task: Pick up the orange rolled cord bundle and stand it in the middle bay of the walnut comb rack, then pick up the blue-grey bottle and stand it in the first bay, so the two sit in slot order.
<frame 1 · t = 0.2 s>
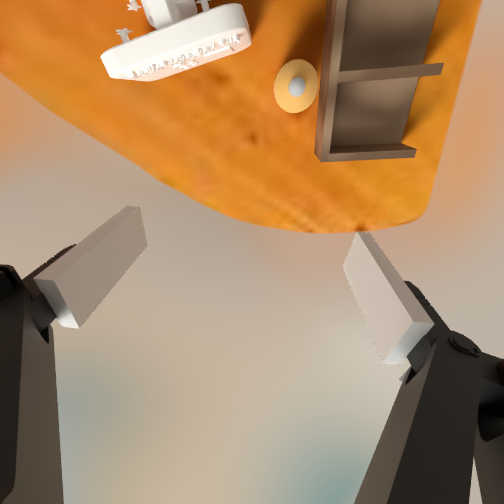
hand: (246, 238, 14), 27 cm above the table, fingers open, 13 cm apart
orange cord bundle: (290, 88, 32), on the table
cable organizer: (185, 18, 29), on the table
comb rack: (374, 31, 28), on the table
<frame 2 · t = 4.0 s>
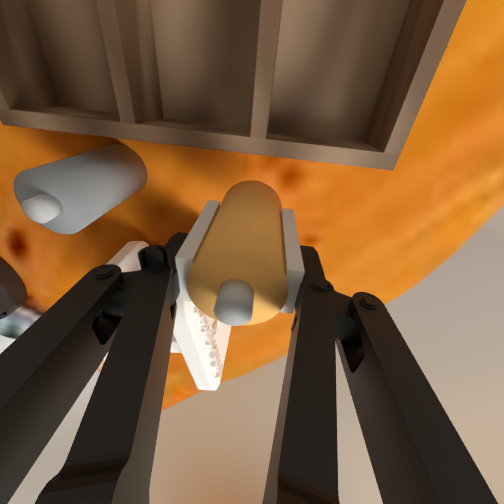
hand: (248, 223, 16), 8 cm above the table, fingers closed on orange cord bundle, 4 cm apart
orange cord bundle: (251, 210, 18), point 6 cm above the table, touching gripper
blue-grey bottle: (124, 169, 23), on the table
cable organizer: (192, 274, 30), on the table
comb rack: (212, 44, 17), on the table
when the fingers open (2 cm above the table, at t = 7.8 s): orange cord bundle stays where it is, resting on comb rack.
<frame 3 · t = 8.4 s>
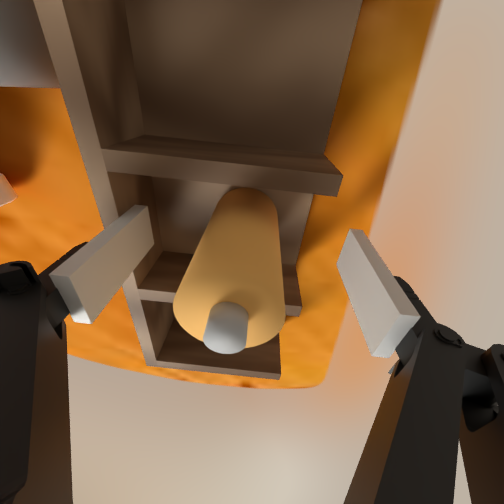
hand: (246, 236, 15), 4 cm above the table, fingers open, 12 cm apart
orange cord bundle: (246, 218, 17), point 1 cm above the table, touching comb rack
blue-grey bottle: (51, 37, 13), on the table
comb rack: (226, 208, 18), on the table
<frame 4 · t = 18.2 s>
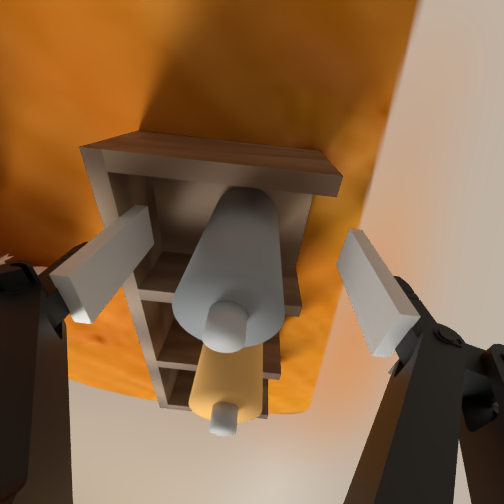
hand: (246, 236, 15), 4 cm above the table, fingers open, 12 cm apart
orange cord bundle: (239, 301, 22), point 1 cm above the table, touching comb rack
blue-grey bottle: (246, 217, 17), point 1 cm above the table, touching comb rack
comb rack: (224, 289, 23), on the table
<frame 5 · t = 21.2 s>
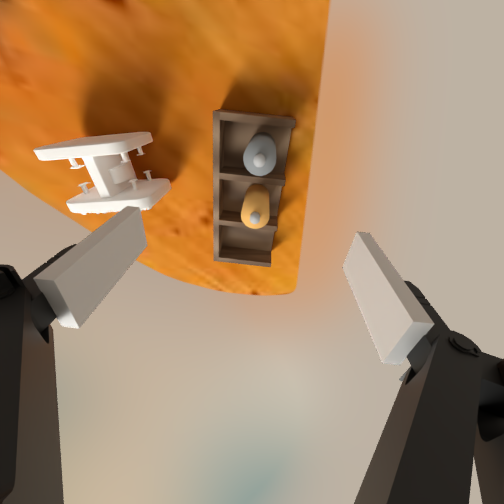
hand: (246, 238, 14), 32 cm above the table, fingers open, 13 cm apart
orange cord bundle: (257, 195, 44), point 1 cm above the table, touching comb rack
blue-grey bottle: (262, 146, 39), point 1 cm above the table, touching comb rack
cable organizer: (131, 163, 44), on the table
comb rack: (249, 192, 45), on the table
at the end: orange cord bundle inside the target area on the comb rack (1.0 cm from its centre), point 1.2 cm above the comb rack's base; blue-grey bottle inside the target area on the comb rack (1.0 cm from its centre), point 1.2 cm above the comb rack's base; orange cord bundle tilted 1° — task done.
